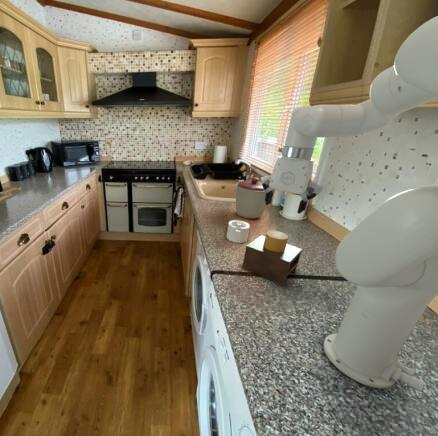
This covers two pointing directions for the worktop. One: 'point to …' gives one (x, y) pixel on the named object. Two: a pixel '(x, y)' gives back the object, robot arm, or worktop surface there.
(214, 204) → the worktop surface
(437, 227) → the robot arm
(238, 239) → the white slotted cylinder
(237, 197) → the canister
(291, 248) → the brown square pedestal
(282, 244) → the tape roll
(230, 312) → the worktop surface
